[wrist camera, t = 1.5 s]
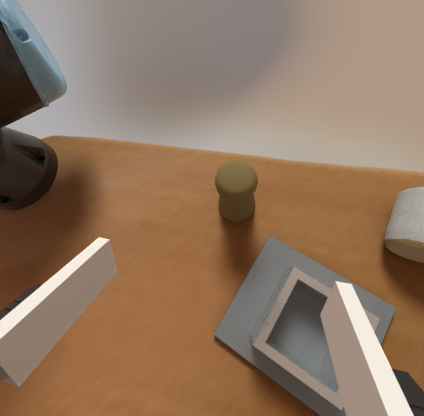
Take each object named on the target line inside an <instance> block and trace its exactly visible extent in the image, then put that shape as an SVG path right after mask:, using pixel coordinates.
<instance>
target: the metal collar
mask: <svg viewBox="0 0 424 416" xmlns="http://www.w3.org/2000/svg"><path fill="white" fill-rule="evenodd" d="M296 283H298V284H299V285H301V286H303V287H304V288H306V289H308V290H309V291H311V292H312V293H314V294H316V295H317V296H319V297H321V298H322V299H324V300H325V301H327V299H328V296H329V294H330V292H331V290H332V289H330V288H329V287H327V286H325V285H324V284H322V283H320V282H319V281H317V280H315V279H314V278H312V277H310V276H309V275H307V274H305V273H303V272H302V271H300V270H298V269H297V268H295V267H286V268H285V269H284V271H283V272H282V274H281V276H280V278H279V280H278V282H277V284H276V286H275V287H274V289H273V291H272V293H271V295H270V297H269V299H268V301H267V302H266V304H265V306H264V308H263V310H262V312H261V314H260V316H259V317H258V319H257V321H256V323H255V325H254V327H253V329H252V331H251V332H250V334H251V339H252V343H253V346H255V347H256V348H257V349H259V350H260V351H261V352H263V353H264V354H265V355H267V356H268V357H269V358H271V359H272V360H274V361H275V362H276V363H278V364H279V365H280V366H282V367H283V368H284V369H286V370H287V371H288V372H290V373H291V374H293V375H294V376H295V377H297V378H298V379H299V380H301V381H302V382H303V383H305V384H306V385H307V386H309V387H310V388H312V389H313V390H314V391H316V392H317V393H318V394H320V395H321V396H322V397H324V398H325V399H327V400H328V401H329V402H331V403H332V404H333V405H335V406H336V407H337V408H339V409H340V410H341V411H342V409H343V407H344V405H343V401H342V398H341V394H340V390H339V386H338V382H337V378H336V374H335V371H334V367H333V363H332V359H331V355H330V351H329V348H328V350H327V353H326V355H325V357H324V359H323V361H322V364H321V366H320V368H319V370H318V371H317V370H316V369H314V368H313V367H311V366H310V365H309V364H307V363H306V362H304V361H303V360H302V359H300V358H299V357H297V356H296V355H295V354H293V353H292V352H290V351H289V350H287V349H286V348H285V347H283V346H282V345H280V344H279V343H278V342H276V341H275V340H273V339H272V338H270V337H269V334H270V332H271V331H272V329H273V327H274V325H275V323H276V321H277V319H278V317H279V315H280V313H281V311H282V309H283V307H284V305H285V303H286V301H287V299H288V298H289V296H290V294H291V292H292V290H293V288H294V286H295V284H296ZM363 309H364V308H363ZM364 311H365V314H366V316H367V318H368V320H369V322H370V324H371V326H372V328H373V330H374V332H375V330H376V327H377V325H378V322H379V320H380V318H379V317H377V316H376V315H374V314H372V313H371V312H369V311H367V310H366V309H364Z"/></svg>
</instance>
